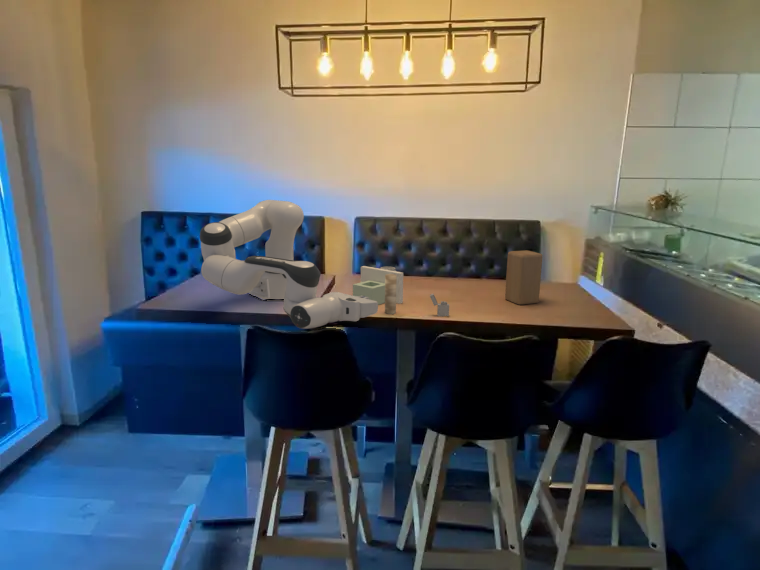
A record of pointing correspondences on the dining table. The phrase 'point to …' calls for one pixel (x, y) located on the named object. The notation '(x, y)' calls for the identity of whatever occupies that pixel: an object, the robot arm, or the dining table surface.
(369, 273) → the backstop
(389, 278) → the dowel
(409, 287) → the dining table surface
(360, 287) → the green square bin
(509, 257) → the wooden block
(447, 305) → the lighter
